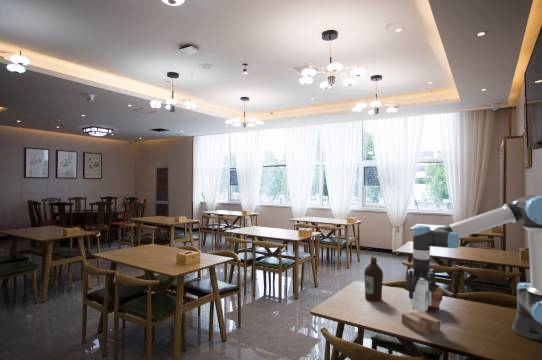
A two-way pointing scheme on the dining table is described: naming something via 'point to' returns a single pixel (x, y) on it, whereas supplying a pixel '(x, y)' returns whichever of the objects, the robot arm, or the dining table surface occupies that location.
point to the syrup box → (421, 295)
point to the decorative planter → (435, 300)
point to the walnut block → (421, 322)
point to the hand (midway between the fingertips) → (420, 304)
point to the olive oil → (373, 281)
